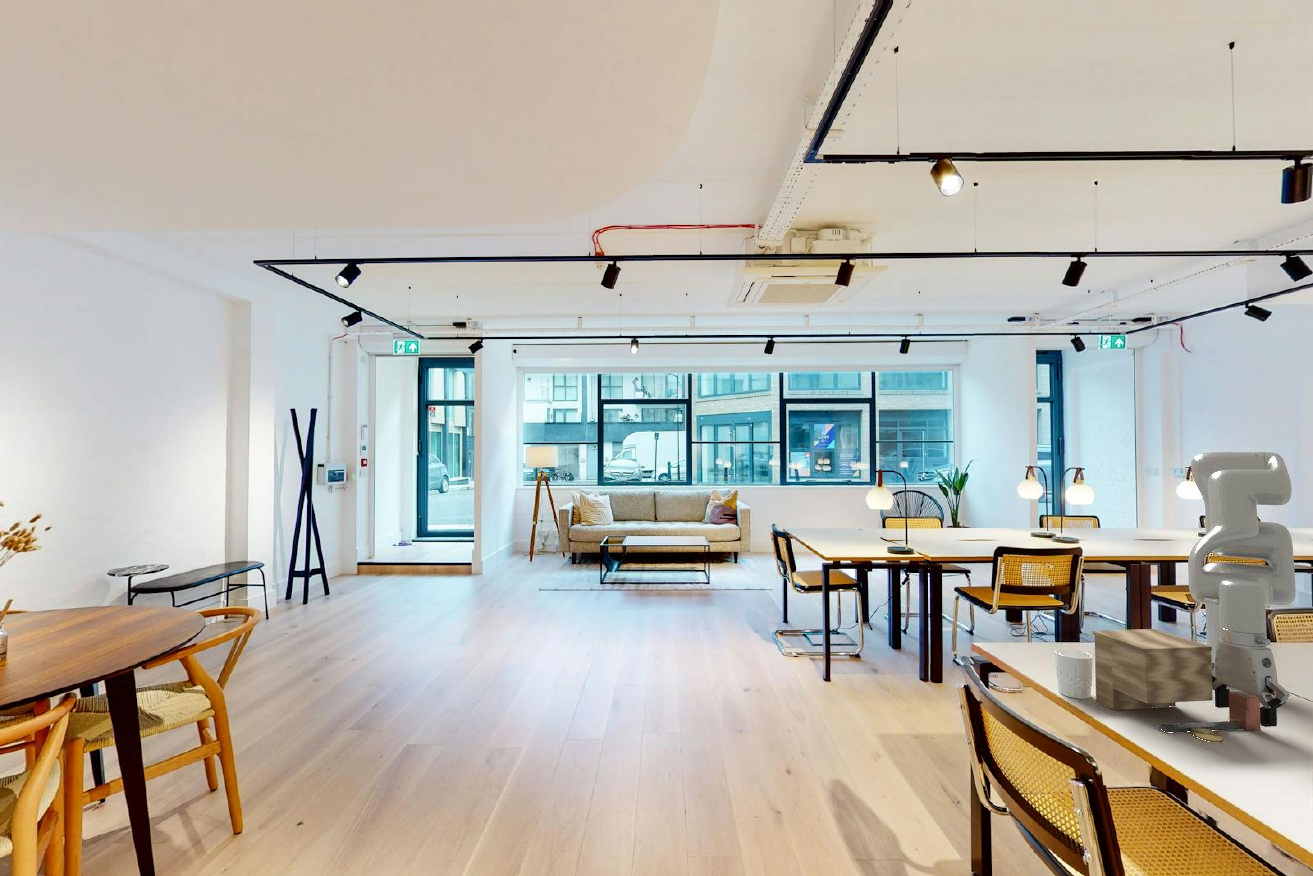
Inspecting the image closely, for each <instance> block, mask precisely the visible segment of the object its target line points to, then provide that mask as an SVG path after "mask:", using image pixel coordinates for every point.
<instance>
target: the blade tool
mask: <svg viewBox="0 0 1313 876" xmlns="http://www.w3.org/2000/svg"><path fill="white" fill-rule="evenodd" d="M1260 707H1261V702H1260V701H1259V699H1258V698H1257V696H1254V695H1251V694H1249V693H1246V692H1229V707H1228V709H1229V711H1228V713H1229V714H1228V717H1229V718H1228V719H1229V720H1228V721H1227V720H1226V721H1207V722H1185V723H1167V724H1166V723H1165V724H1162V723H1161V724H1158V729H1159V728H1160V729H1162V730H1163V731H1162V730H1161V731H1162V732H1164V731H1165V732H1164V733H1166V732H1184V733H1188V732H1187V731H1191V729H1192V728H1204V729H1209V730H1224V731H1238V729H1243V730H1242V731H1245V732H1256V731H1257V732H1259V731H1262V730H1261V727H1262V726H1261V724H1260Z"/></svg>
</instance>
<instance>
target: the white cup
mask: <svg viewBox="0 0 1313 876" xmlns="http://www.w3.org/2000/svg"><path fill="white" fill-rule="evenodd" d="M1093 658H1094V656H1093V655H1092V654H1091V653H1089V652H1086V651H1083V650H1078V649H1073V648H1072V649H1071V648H1057V649H1055V650H1054V659H1055V660H1054V661H1055V671H1056V680H1057V689H1058V693H1060V694H1061V695H1063V696H1065V697H1068V698H1072V699H1077V700H1078V699H1079V700H1087V699H1091V697H1092V687H1093V686H1092V685H1093V684H1092V683H1093V666H1094V665H1093V662H1094V661H1093V660H1094V659H1093Z"/></svg>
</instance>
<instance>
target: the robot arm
mask: <svg viewBox="0 0 1313 876" xmlns="http://www.w3.org/2000/svg"><path fill="white" fill-rule="evenodd" d="M1190 468H1191V474H1192V479H1193V481H1194V483H1195V485H1196V487H1197V489H1198V491H1199V493H1200V495H1201V497H1202V499H1203V501H1204V510H1205V511H1204V513H1205V514H1204V515H1205V517H1204V518H1205V535H1203V536H1202V537H1201V538H1200V539H1199V540H1198V541H1197V542H1196V543H1195V544H1194V545H1193V547H1192V549H1191V551H1189V552H1190V553H1189V556H1188V562H1187V571H1188V573H1187V574H1188V590H1189V593H1190V596H1191V598H1192V599H1193V600H1194V601H1196V602H1198V603H1200V604H1204V605H1205V607H1204V608H1205V623H1206V624H1205V626H1206V630H1205V632H1206V645H1208V646H1211V647H1212V650H1211V656H1212V689H1214V706H1215V708H1218V709H1227V708H1228V709H1229V692H1246V693H1249V694H1251V695H1254V696H1257V698H1258V699H1259V701H1260V705H1262V706H1260V725H1261V727H1264V728H1269V727H1272V728H1273V727H1277V726H1278V713H1277V712H1278V710H1277V709H1281V707H1282V706H1284V705H1285V704H1286V703H1287V702H1286V701H1287V700H1288V698H1289V697H1290V696H1291V693H1290V691H1288V690H1287V689H1286V688H1284V686H1282V685H1281V684H1279V682H1278V673H1277V667H1276V661H1275V657H1274V654H1273V651H1272V648H1269V647H1268V646H1270V645H1271V640H1270V638H1269V639H1268V638H1267V615H1266V614H1267V609H1268V606H1270V605H1273V606H1288V605H1291V604H1292V603H1294V601H1295V598H1296V590H1297V589H1296V575H1295V574H1296V572H1295V562H1294V561H1295V558H1294V547H1293V546H1294V545H1293V538H1292V535H1291V532H1290V530H1289V529H1288V528H1287V527H1286V526H1285V525H1283V524H1280V523H1277V522H1272V521H1271V522H1270V521H1259V519H1258V509H1257V505H1259V506H1284V505H1286V504H1288V503H1289V502H1290V500H1291V497H1292V493H1293V492H1292V491H1293V490H1292V482H1291V477H1290V473H1289V471H1288V468H1287V466H1286V463H1285V460H1284V459H1283V457H1282V456H1281V455H1280V454H1278V453H1277V452H1271V451H1270V452H1269V451H1216V452H1215V451H1213V452H1205V453H1204V452H1203V453H1200V454H1197V455H1195V456H1194V457H1193V458H1192V459H1191V464H1190ZM1209 553H1212V554H1213V555H1214V556H1215V555H1216V556H1219V557H1227V558H1235V559H1249V560H1251V559H1252V560H1263V561H1265V562H1266V563H1267V564H1268V565H1264V564H1250V563H1243V562H1241V563H1240V562H1228V561H1227V562H1226V561H1217V562H1216V561H1215V562H1209V563H1206V564H1205V565H1204V560H1205V558H1206V556H1208V554H1209ZM1266 608H1267V609H1266Z"/></svg>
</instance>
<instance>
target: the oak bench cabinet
mask: <svg viewBox="0 0 1313 876" xmlns="http://www.w3.org/2000/svg"><path fill="white" fill-rule="evenodd" d="M1093 635H1094V668H1095V669H1094V670H1095V676H1094V677H1095V702H1096V703H1098V704H1100V705H1103V706H1104V705H1105V706H1104V707H1106V706H1107V707H1106V708H1108V707H1109V708H1108V709H1110V708H1111V709H1110V710H1112V711H1116V710H1117V711H1118V710H1119V711H1120V709H1123V710H1138V708H1145V709H1160V708H1159V707H1167V708H1170V707H1169V706H1176V705H1177V704H1176V703H1185V702H1186V703H1187V702H1207V701H1213V699H1214V698H1213V697H1214V695H1213V693H1214V692H1213V688H1212V656H1211V650H1212V647H1211V646H1208V645H1207V644H1204V643H1201V642H1198V641H1195V640H1192V639H1188V638H1185V637H1183V636H1182V637H1181V636H1178V635H1176V634H1173V633H1168V632H1165V631H1163V630H1159V629H1157V628H1144V629H1139V628H1137V629H1113V630H1112V629H1110V630H1109V629H1108V630H1104V629H1103V630H1092V636H1093ZM1152 707H1153V708H1152ZM1155 707H1157V708H1155ZM1176 707H1177V706H1176Z"/></svg>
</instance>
